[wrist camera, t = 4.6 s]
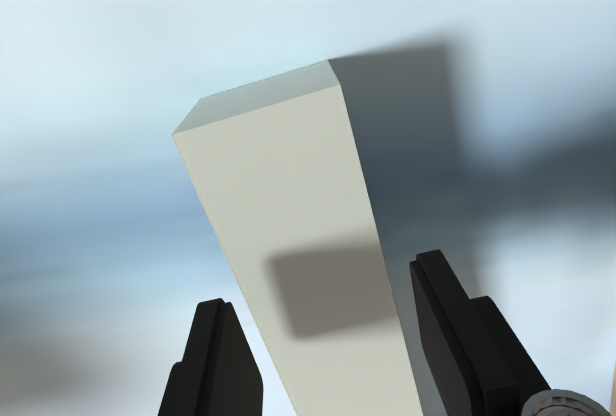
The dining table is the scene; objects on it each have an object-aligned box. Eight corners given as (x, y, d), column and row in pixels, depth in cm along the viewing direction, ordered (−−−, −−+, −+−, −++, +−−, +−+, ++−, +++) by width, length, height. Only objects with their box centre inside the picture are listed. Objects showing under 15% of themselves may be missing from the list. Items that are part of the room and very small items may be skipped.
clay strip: (202, 96, 14) (171, 134, 10) (326, 58, 13) (340, 84, 10) (352, 473, 22) (364, 565, 19) (429, 456, 22) (456, 547, 18)
